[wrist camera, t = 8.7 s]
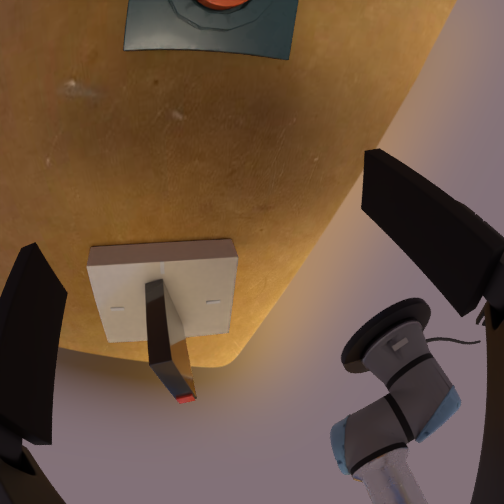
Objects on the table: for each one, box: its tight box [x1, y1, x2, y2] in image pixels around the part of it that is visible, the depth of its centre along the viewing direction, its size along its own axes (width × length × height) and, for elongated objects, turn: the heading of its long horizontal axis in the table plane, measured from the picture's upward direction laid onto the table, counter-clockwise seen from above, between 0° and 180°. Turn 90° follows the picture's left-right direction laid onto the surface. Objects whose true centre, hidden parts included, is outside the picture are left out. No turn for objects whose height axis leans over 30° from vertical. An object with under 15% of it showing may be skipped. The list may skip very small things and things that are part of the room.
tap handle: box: [145, 279, 197, 404], centre depth 26 cm, size 7×2×9 cm, turn 7°
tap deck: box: [87, 239, 238, 343], centre depth 31 cm, size 14×11×3 cm
